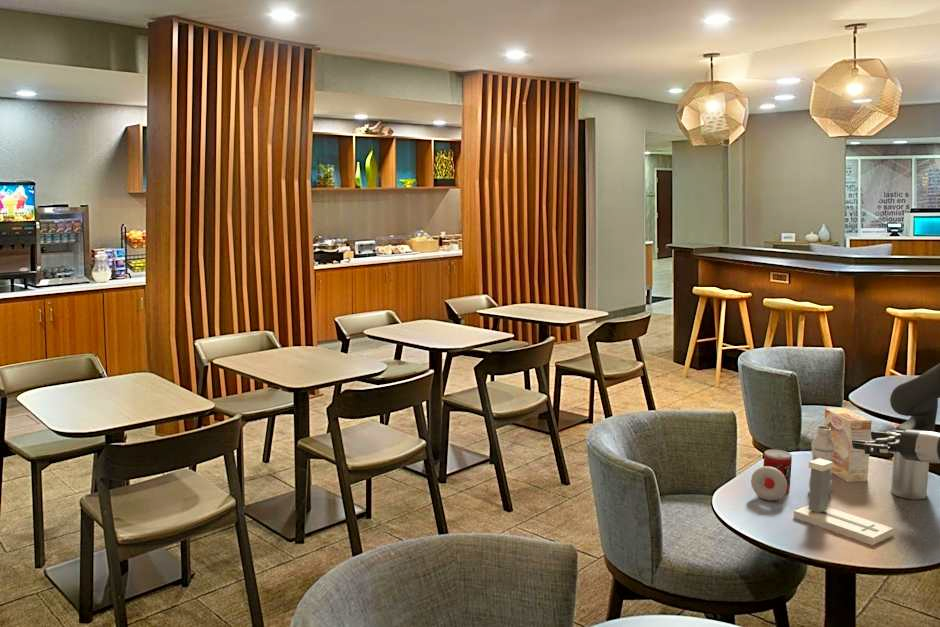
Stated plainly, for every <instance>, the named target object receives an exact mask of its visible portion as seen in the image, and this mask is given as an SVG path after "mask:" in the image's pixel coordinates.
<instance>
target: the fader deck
mask: <svg viewBox="0 0 940 627" xmlns="http://www.w3.org/2000/svg"><path fill="white" fill-rule="evenodd" d="M796 518H797V520H799V519H800V520H799V521H802V522H804V521H806V522H805V523H807V522H809V523H808V524H810V523H812V524H811V525H813V524H815V525H814V526H816V525H818V526H817V527H819V526H821V527H820V528H822V527H823V528H822V529H824V528H826V529H825V530H827V529H830V530H832V531H831V532H833V531H835V532H834V533H836V532H837V534H839V533H840V534H839V535H842V536H845V537H848V538H851V539H854V540H856V541H859V542H861V543H865V544H868V545H870V546H874V545H876V544H878V543H880V542H883V541H885V540H887V539H889V538H891V537H893V536H894V527H890V526H887V525H885V524H881V523H879V522H875V521H872V520H869V519H866V518H863V517H860V516H857V515H853V514H850V513H848V512H844V511H841V510H839V509H835V508H833V507H829V506H827V510H825V511H823V512H821V513H817V512H814V511H811V510H809V504H807V505H806V506H802V507H799V508H798V509H795V510H794V511H793V519H796ZM830 530H829V531H830Z"/></svg>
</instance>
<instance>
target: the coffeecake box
mask: <svg viewBox="0 0 940 627" xmlns="http://www.w3.org/2000/svg"><path fill="white" fill-rule="evenodd" d="M824 410H825V411H824V425H823V426H826V427H829V428H831V435H830V438H831V439H832V440H833V442H834V445H835V450H834V454H833V459H832V462H833V468H831V474H834V475H835V474H836V476H837V477H839V478H841V479H842V480H844V481H846V482H848V483H852V482H853V483H855V482H854V481H856V482H868V479H869V463H870V454H865V451H864V450H861V449H854V448H853V446H852V441H853V440H863V441H871V432H872V424H873V423H872V420H871V419H869V418H866V417H865V416H863V415H860V414H859V413H856V412H854V411H852V410H849V409H847V408H845V407H839V408H838V407H834V408H833V407H829V408H825V409H824Z"/></svg>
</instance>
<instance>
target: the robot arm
mask: <svg viewBox="0 0 940 627" xmlns="http://www.w3.org/2000/svg"><path fill="white" fill-rule="evenodd" d="M939 399H940V362H939V363H938V364H937V365H935V366H933V367H931V368H930V369H928V370H926V371H925V372H924V373H922V374H920V375H919V376H917V377H915V378H913V379H911V380H908V381H906V382H903V383H901V384H899V385H897V386H896V387H895V388H894V389H893V390H892V392H891V394H890V399H889V403H890V407H891V408H892V410H893V411H894V412H895V413H896V414H898V415H900V416H906V417H909V419H907V420H906V421H904V422H902V423H901V424H898V425H897V426H896V428H895V429H892V430H891V431H886V432H885V431H874V430H872V431H871V437H870V439H871V440H870V441H863V440H853V441H852V446H853V448H854V449H861V450H864V451H865V454H869V455H874V456H883V457H884V456H885V457H888V456H889V455H890V454H893V461H892V472H891V485H890V487H891V489H890V492H891V494H892V495H894V496H897V497H900V498H903V499H908V500H924V499H926V498H927V491H928V483H929V481H928V480H929V478H928V477H929V470H930V469H929V467H930V463H931V464H940V431H939V432H937V431H935V429H936V421H937V414H938V408H939ZM880 443H881V444H880Z"/></svg>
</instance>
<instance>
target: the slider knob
mask: <svg viewBox="0 0 940 627" xmlns="http://www.w3.org/2000/svg"><path fill="white" fill-rule="evenodd" d="M808 468H810V476H811V481H810V488H809V499H808V501H809V502H808V505H809V510H811V511H814V512H817V513H821V512H823V511H825V510H827V507H828V502H829V494H828V489H829V474H830V468H833V462H831V461H828V460H824V459H821V458H818V459H815V460H810V461H808Z"/></svg>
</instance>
